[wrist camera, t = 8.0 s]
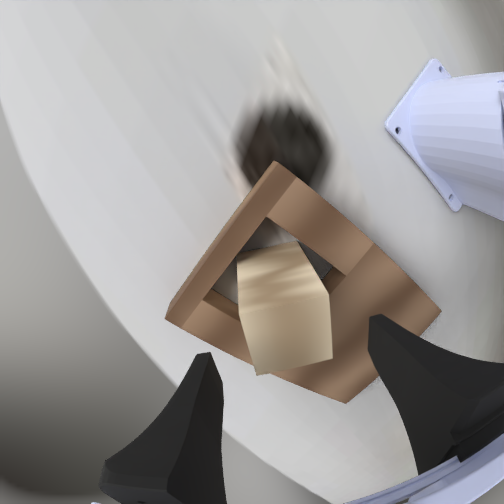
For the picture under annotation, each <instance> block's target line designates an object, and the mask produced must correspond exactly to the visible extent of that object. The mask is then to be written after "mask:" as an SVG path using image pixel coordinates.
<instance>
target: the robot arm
mask: <svg viewBox="0 0 504 504" xmlns="http://www.w3.org/2000/svg"><path fill="white" fill-rule="evenodd" d="M439 69H440V71H441V72H440V71H439ZM396 127H397V128H398V131H399V132H398V134H396V132H395V129H396ZM385 128H386V130H387V131H388V132H389V133H390V134H391V135H392V136H393V137H394V139H395V140H396V141H397V142H398V143H399V144H400V145H401V146H402V147H403V149H404V150H405V151H406V152H407V153H408V154H409V155H410V157H411V158H412V159H413V160H414V161H415V162H416V164H417V165H418V166H419V167H420V169H421V170H422V171H423V172H424V174H425V175H426V176H427V177H428V179H429V180H430V181H431V182H432V184H433V185H434V186H435V188H436V189H437V190H438V192H439V193H440V194H441V196H442V197H443V199H444V200H445V201H446V203H447V204H448V206H449V207H450V209H451V210H452V211H454V212H457V211H458V210H459V209H460V208H461V206H462V204H464V205H467V206H469V207H471V208H474V209H476V210H479V211H481V212H483V213H486V214H488V215H490V216H492V217H495V218H497V219H499V220H501V221H503V222H504V72H495V73H484V74H475V75H468V76H460V77H454V78H452V77H451V75H450V74H449V73H448V72H447V70H446V69H445V68H444V67H443V65H442V64H441V63H440V62H439V61H438V60H437V59H431V60H430V61H429V62H428V64H427V65H426V66H425V68H424V69H423V71H422V72H421V73H420V75H419V76H418V78H417V79H416V80H415V82H414V83H413V84H412V86H411V87H410V89H409V90H408V91H407V93H406V94H405V95H404V97H403V98H402V99H401V101H400V102H399V104H398V105H397V106H396V108H395V109H394V110H393V112H392V113H391V114H390V116H389V117H388V118H387V120H386V121H385ZM450 195H451V196H450ZM449 196H450V199H449ZM367 350H368V352H369V355H370V357H371V360H372V362H373V364H374V367H375V369H376V370H377V372H378V374H379V376H380V377H381V379H382V381H383V383H384V384H385V386H386V388H387V389H388V391H389V393H390V395H391V396H392V398H393V400H394V402H395V404H396V406H397V408H398V410H399V413H400V415H401V418H402V420H403V423H404V426H405V428H406V431H407V434H408V437H409V440H410V444H411V447H412V450H413V454H414V458H415V462H416V466H417V470H418V475H419V476H416V477H414V478H412V479H410V480H408V481H405V482H403V483H401V484H398V485H396V486H393V487H391V488H388V489H386V490H383V491H381V492H378V493H375V494H372V495H369V496H366V497H363V498H360V499H357V500H354V501H351V502H347V503H344V504H395V503H397V502H399V501H402V500H404V499H406V498H408V497H410V498H409V501H408V502H407V503H404V504H470V503H471V502H473V501H474V500H475V499H477V498H479V497H480V496H481V495H483V494H484V493H486V492H487V491H488V490H490V489H491V488H492V487H494V486H495V485H496V484H497V483H499V482H500V481H501V480H503V479H504V363H495V362H487V361H482V360H477V359H472V358H468V357H465V356H462V355H459V354H456V353H453V352H450V351H448V350H445V349H443V348H440V347H438V346H436V345H434V344H432V343H430V342H428V341H426V340H424V339H422V338H420V337H419V336H417V335H415V334H413V333H412V332H410V331H408V330H407V329H405V328H403V327H402V326H400V325H399V324H397V323H396V322H394V321H392V320H391V319H389V318H388V317H386V316H385V315H383V314H377V315H374V316H371V317H369V332H368V349H367ZM223 407H224V397H223V382H222V380H221V377H220V375H219V372H218V370H217V368H216V365H215V363H214V360H213V358H212V355H211V352H207V353H201V354H197V355H196V356H195V358H194V360H193V362H192V364H191V366H190V368H189V370H188V371H187V373H186V375H185V377H184V379H183V380H182V382H181V384H180V385H179V387H178V389H177V391H176V392H175V394H174V395H173V397H172V398H171V399H170V401H169V402H168V404H167V405H166V407H165V408H164V409H163V411H162V412H161V413H160V414H159V416H158V417H157V418H156V419H155V420H154V421H153V422H152V423H151V424H150V426H149V427H148V428H147V429H146V430H145V431H144V432H143V433H142V434H141V435H139V437H137V438H136V439H135V440H134V441H133V442H131V443H130V444H129V445H127V446H126V447H125V448H124V449H122V450H121V451H119V452H118V453H116V454H115V455H113V456H112V457H110V458H109V459H107V460H105V463H104V466H103V469H102V473H101V477H100V482H99V488H100V489H101V490H102V491H103V492H104V493H105V494H107V495H108V496H110V497H112V498H113V499H115V500H116V501H118V502H120V503H121V504H227V501H226V494H225V487H224V478H223V467H222V453H221V439H222V423H223ZM413 495H414V496H413ZM411 496H412V497H411ZM92 504H99V503H95V502H92Z"/></svg>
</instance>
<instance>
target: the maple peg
mask: <svg viewBox="0 0 504 504" xmlns="http://www.w3.org/2000/svg"><path fill="white" fill-rule="evenodd" d="M237 281H238V306H239V317H240V320H241V324H242V327H243V331H244V334H245V338H246V341H247V345H248V348H249V352H250V355H251V358H252V362H253V365H254V368H255V372H256V375H257V376H258V375H263V374H268V373H273V372H278V371H283V370H287V369H292V368H296V367H301V366H305V365H309V364H313V363H317V362H321V361H325V360H329V359H332V358H333V353H332V333H331V316H330V302H329V294H328V292H327V290H326V289H325V287H324V285H323V284H322V282H321V280H320V279H319V277H318V275H317V274H316V272H315V270H314V269H313V267H312V265H311V264H310V262H309V260H308V259H307V257H306V255H305V254H304V252H303V250H302V249H301V247H300V246H299V244H298V242H297V241H293V242H289V243H284V244H279V245H275V246H270V247H265V248H261V249H256V250H251V251H247V252H242V253H238V254H237Z"/></svg>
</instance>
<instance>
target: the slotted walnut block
mask: <svg viewBox="0 0 504 504" xmlns="http://www.w3.org/2000/svg"><path fill="white" fill-rule="evenodd" d="M266 216H267V217H268V218H269V219H271V220H272V221H273V222H275V223H276V224H278V225H279V226H280V227H282V228H283V229H284V230H286V231H287V232H289V233H290V234H291V235H293V236H294V237H295V238H297V239H298V240H299V241H301V242H302V243H303V244H305V245H306V246H308V247H309V248H310V249H312V250H313V251H314V252H316V253H317V254H318V255H320V256H321V257H322V258H324V259H325V260H326V261H327V262H329V263H330V264H331V265H333V266H334V267H333V268H332V269H331V270H330V271H329V273H328V274H327V275H326V276H325V277H324V278H323V280H322V281H321V282H322V284H323V285H324V287H325V289H326V290H327V292H328V294H329V302H330V316H331V333H332V353H333V358H332V359H329V360H325V361H321V362H317V363H313V364H309V365H305V366H301V367H296V368H292V369H287V370H283V371H278V372H273V373H271V374H273V375H275V376H277V377H280V378H282V379H284V380H287V381H289V382H291V383H294V384H296V385H298V386H301V387H303V388H306V389H308V390H311V391H313V392H316V393H318V394H321V395H324V396H326V397H329V398H331V399H334V400H337V401H340V402H342V403H345V404H346V403H347V402H349V401H350V400H351V399H352V398H354V397H355V396H356V395H357V394H359V393H360V392H361V391H362V390H363V389H364V388H366V387H367V386H368V385H369V384H370V383H371V382H373V381H374V380H375V379H376V378H377V377H378V376H379V374H378V372H377V370H376V369H375V367H374V364H373V362H372V360H371V357H370V355H369V352H368V350H367V349H368V332H369V317H371V316H374V315H377V314H383V315H385V316H386V317H388V318H389V319H391V320H392V321H394V322H396V323H397V324H399V325H400V326H402V327H403V328H405V329H407V330H408V331H410V332H412V333H413V334H415V335H417V336H420V335H421V334H422V333H423V332H424V331H425V330H426V329H427V327H428V326H429V325H430V324H431V323H432V322H433V321H434V320H435V318H436V317H437V316H438V315H439V314H440V313H441V310H440V309H439V307H438V306H437V305H436V304H435V303H434V302H433V301H432V300H431V299H430V298H429V297H428V296H427V295H426V294H425V293H424V292H423V290H422V289H421V288H420V287H419V286H418V285H417V284H416V283H415V282H414V281H413V280H412V279H411V278H410V277H409V276H408V275H407V274H406V273H405V272H404V271H403V270H402V269H401V268H400V267H399V266H398V265H397V264H396V263H395V262H394V261H393V260H392V259H391V258H389V257H388V256H387V255H386V254H385V253H384V252H383V251H382V250H381V249H380V248H379V247H378V246H377V245H376V244H375V243H374V242H372V241H371V240H370V239H369V238H368V237H367V236H366V235H365V234H364V233H363V232H362V231H360V230H359V229H358V228H357V227H356V226H355V225H354V224H353V223H351V222H350V221H349V220H348V219H347V218H346V217H345V216H343V215H342V214H341V213H340V212H339V211H338V210H336V209H335V208H334V207H333V206H332V205H331V204H329V203H328V202H327V201H326V200H325V199H323V198H322V197H321V196H320V195H319V194H317V193H316V192H315V191H314V190H312V189H311V188H310V187H309V186H308V185H306V184H305V183H304V182H303V181H301V180H300V179H299V178H297V177H296V176H295V175H294V174H292V173H291V172H290V171H289V170H287V169H286V168H285V167H283V166H282V165H281V164H279V163H278V162H275V161H273V162H272V164H271V165H270V166H269V167H268V169H267V170H266V171H265V173H264V174H263V175H262V177H261V178H260V179H259V181H258V182H257V183H256V184H255V186H254V187H253V188H252V190H251V191H250V192H249V194H248V195H247V196H246V198H245V199H244V200H243V202H242V203H241V204H240V206H239V207H238V208H237V210H236V211H235V212H234V214H233V215H232V217H231V218H230V219H229V221H228V222H227V223H226V225H225V226H224V227H223V229H222V230H221V232H220V233H219V234H218V236H217V237H216V238H215V240H214V241H213V243H212V244H211V245H210V247H209V248H208V250H207V251H206V252H205V254H204V255H203V257H202V258H201V259H200V261H199V262H198V264H197V265H196V266H195V268H194V269H193V271H192V272H191V274H190V275H189V276H188V278H187V279H186V281H185V282H184V284H183V285H182V286H181V288H180V289H179V291H178V292H177V294H176V295H175V297H174V298H173V300H172V301H171V302H170V305H169V308H168V310H167V313H166V316H165V320H167V321H169V322H171V323H172V324H174V325H176V326H178V327H179V328H181V329H183V330H185V331H187V332H188V333H190V334H192V335H194V336H196V337H198V338H199V339H201V340H203V341H205V342H207V343H209V344H211V345H213V346H215V347H217V348H218V349H220V350H222V351H224V352H226V353H228V354H230V355H232V356H234V357H236V358H239V359H241V360H243V361H245V362H247V363H249V364H251V365H253V362H252V358H251V355H250V352H249V348H248V345H247V341H246V338H245V334H244V331H243V327H242V324H241V320H240V317H239V306H238V305H237V304H236V303H234V302H232V301H231V300H229V299H227V298H226V297H224V296H222V295H221V294H219V293H217V292H216V291H214V290H212V289H211V288H212V286H213V285H214V284H215V282H216V281H217V280H218V278H219V277H220V276H221V275H222V273H223V272H224V271H225V269H226V268H227V267H228V265H229V264H230V263H231V261H232V260H233V259H234V258H235V256H236V255H237V254H238V252H239V251H240V250H241V248H242V247H243V246H244V245H245V243H246V242H247V241H248V239H249V238H250V237H251V235H252V234H253V233H254V232H255V230H256V229H257V228H258V226H259V225H260V224H261V222H262V221H263V220H264V219H265V217H266ZM253 366H254V365H253Z"/></svg>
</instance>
